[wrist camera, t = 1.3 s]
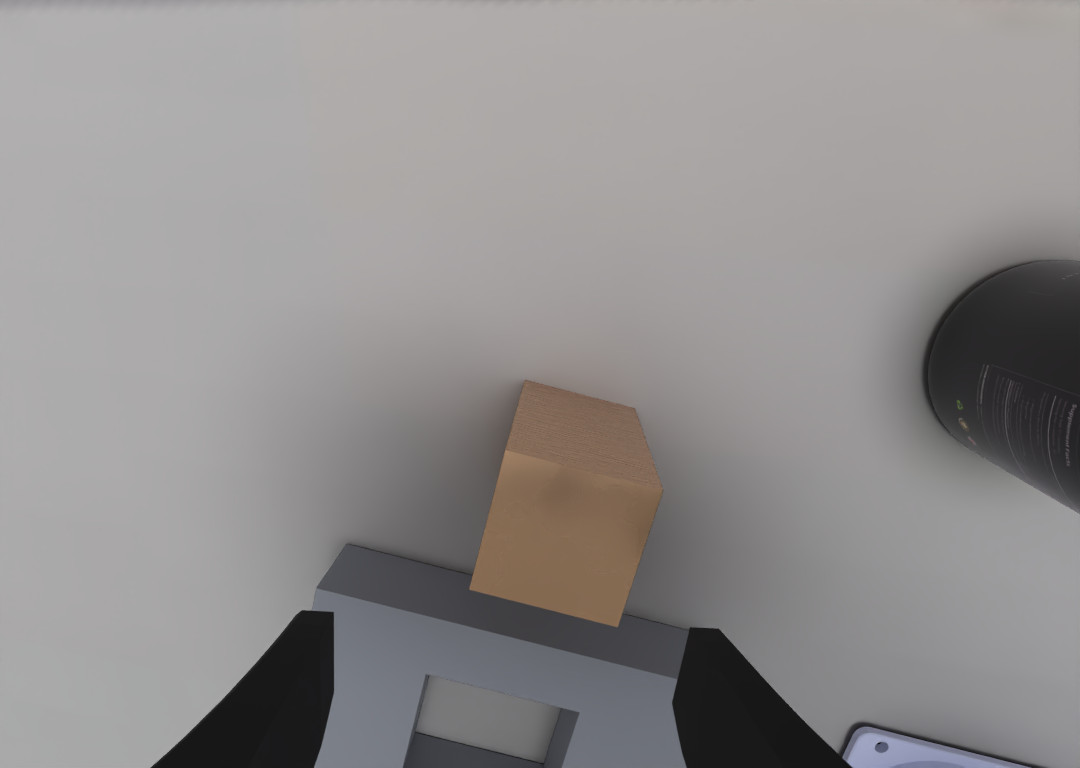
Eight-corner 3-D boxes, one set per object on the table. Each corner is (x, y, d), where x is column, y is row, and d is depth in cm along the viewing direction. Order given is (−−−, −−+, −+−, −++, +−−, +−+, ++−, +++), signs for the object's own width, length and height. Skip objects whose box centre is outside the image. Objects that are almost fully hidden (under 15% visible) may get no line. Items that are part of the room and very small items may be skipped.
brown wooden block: (634, 408, 22) (663, 490, 15) (603, 509, 23) (617, 627, 16) (524, 379, 22) (505, 449, 15) (498, 481, 23) (469, 589, 16)
